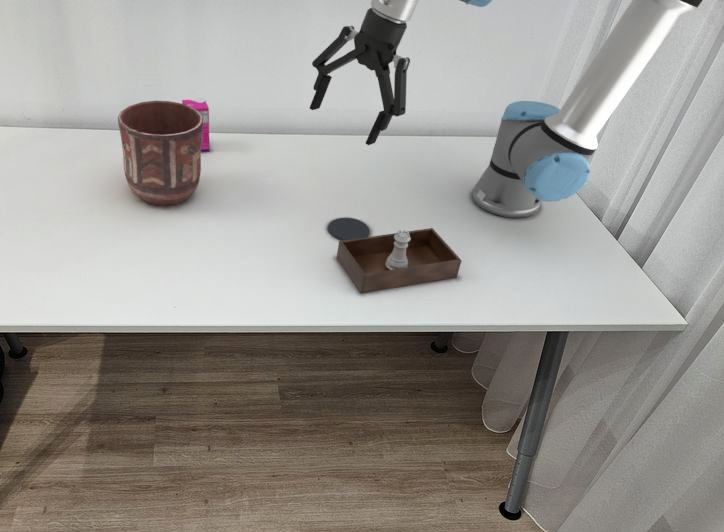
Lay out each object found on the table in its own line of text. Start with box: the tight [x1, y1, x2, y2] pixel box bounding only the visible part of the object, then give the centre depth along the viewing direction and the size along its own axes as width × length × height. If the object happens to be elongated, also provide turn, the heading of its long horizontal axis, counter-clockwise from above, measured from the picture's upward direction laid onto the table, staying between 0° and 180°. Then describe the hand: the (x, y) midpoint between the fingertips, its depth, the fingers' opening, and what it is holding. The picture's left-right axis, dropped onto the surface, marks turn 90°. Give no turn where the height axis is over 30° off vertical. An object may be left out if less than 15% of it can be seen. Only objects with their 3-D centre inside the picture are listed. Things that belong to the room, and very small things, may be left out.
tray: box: [335, 227, 462, 295], centre depth 146 cm, size 21×12×4 cm, turn 108°
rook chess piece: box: [386, 229, 411, 270], centre depth 145 cm, size 4×4×8 cm
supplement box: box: [181, 97, 210, 153], centre depth 179 cm, size 6×6×12 cm
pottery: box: [117, 100, 203, 207], centre depth 159 cm, size 18×18×18 cm
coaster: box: [327, 217, 371, 241], centre depth 157 cm, size 9×9×1 cm
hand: (341, 125), depth 140 cm, fingers open, 13 cm apart
